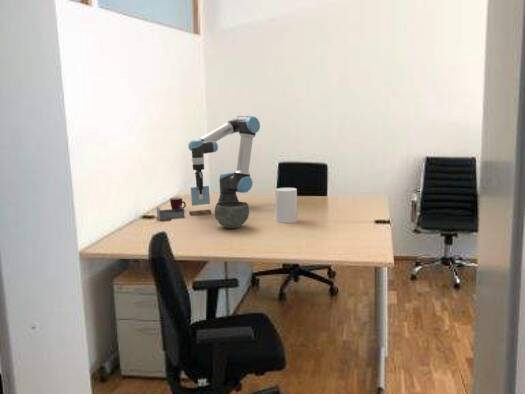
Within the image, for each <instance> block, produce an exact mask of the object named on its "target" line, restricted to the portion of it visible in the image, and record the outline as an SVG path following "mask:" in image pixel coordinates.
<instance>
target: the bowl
mask: <svg viewBox="0 0 525 394" xmlns="http://www.w3.org/2000/svg"><path fill="white" fill-rule="evenodd" d="M249 215H250V206H249V204H248V203H247V202H245V201H222V202H218V201H217V203H216V204H215V207H214V216H215V219H216V220H217V223H219V224H220V225H221V226H222V227H224V228H226V229H236V228H239V227H241V226H243V225H244V224H245V223H246V221H248V219H249Z"/></svg>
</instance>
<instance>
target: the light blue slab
mask: <svg viewBox="0 0 525 394" xmlns="http://www.w3.org/2000/svg"><path fill="white" fill-rule="evenodd" d="M202 191H203V199H199V194H198V187H196V186H194V187H193V186H192V187H190V200H191V206H192V207H193V206H202V205H210V204H211V202H210V201H211V199H210V198H211V197H210V186H209V185H203V189H202Z"/></svg>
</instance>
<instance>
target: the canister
mask: <svg viewBox="0 0 525 394" xmlns="http://www.w3.org/2000/svg"><path fill="white" fill-rule="evenodd" d="M297 190H298V189H297V188H296V187H278V188H275V189H274V194H275V195H274V197H275V198H274V199H275V222H277V223H279V224H280V223H281V224H292V223H296V222H298V191H297Z"/></svg>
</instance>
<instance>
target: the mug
mask: <svg viewBox="0 0 525 394" xmlns="http://www.w3.org/2000/svg"><path fill="white" fill-rule="evenodd" d="M169 201H170V207H171V209H179V205H181V206H182V207H183V208H184V209H185V208H186V207H187V204H186V202H185V200H184V201H183V197H170V199H169Z"/></svg>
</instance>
